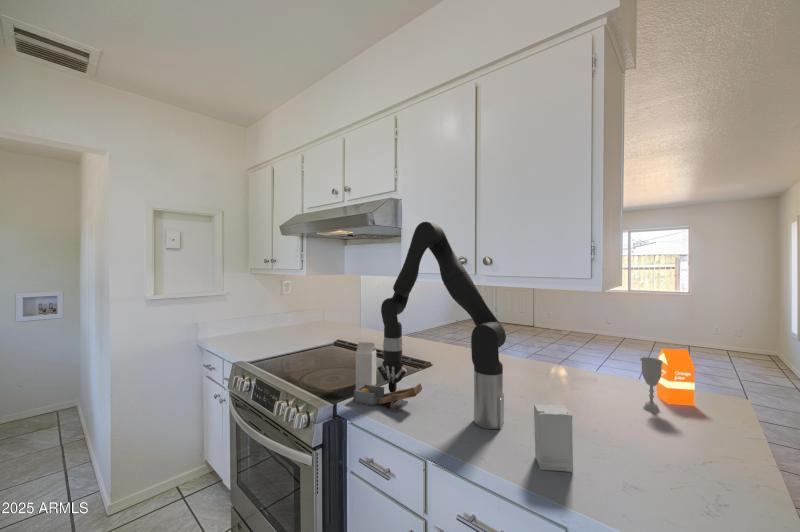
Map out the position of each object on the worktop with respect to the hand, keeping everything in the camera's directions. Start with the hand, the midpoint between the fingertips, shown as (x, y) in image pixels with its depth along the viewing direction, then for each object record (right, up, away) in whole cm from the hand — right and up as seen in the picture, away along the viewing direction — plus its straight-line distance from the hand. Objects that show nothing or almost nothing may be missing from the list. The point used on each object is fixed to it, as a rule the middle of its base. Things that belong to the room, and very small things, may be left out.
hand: (392, 391), depth 131 cm
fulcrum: (+2, -2, -8) cm, 9 cm away
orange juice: (+110, -3, -3) cm, 110 cm away
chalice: (+94, -3, -11) cm, 95 cm away
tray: (-9, -2, -3) cm, 10 cm away
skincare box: (+43, -3, -44) cm, 62 cm away
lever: (+4, +1, -6) cm, 8 cm away
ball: (-11, 0, -2) cm, 11 cm away
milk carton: (-12, -2, +12) cm, 17 cm away
